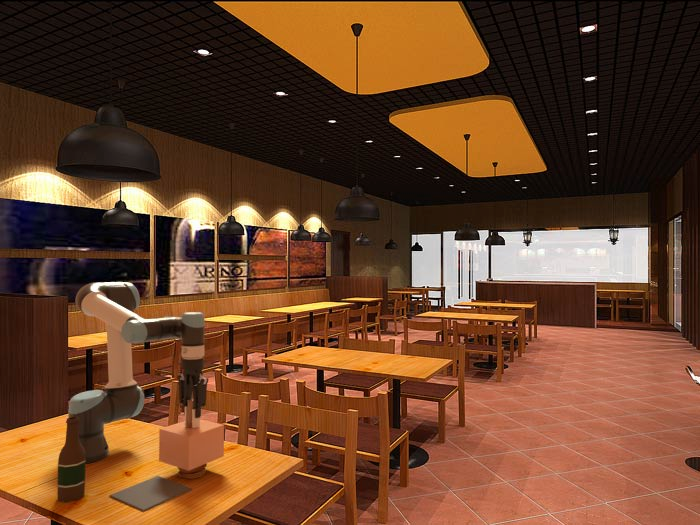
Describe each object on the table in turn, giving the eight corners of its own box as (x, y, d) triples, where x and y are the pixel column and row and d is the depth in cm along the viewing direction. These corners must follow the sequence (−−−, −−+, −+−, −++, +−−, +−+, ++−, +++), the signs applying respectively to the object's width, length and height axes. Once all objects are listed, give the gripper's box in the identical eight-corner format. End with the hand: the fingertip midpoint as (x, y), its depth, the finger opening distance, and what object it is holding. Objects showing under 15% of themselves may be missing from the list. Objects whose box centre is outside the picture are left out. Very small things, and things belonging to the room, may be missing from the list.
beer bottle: (64, 491, 153) (65, 414, 153) (90, 490, 153) (91, 413, 154) (51, 503, 145) (52, 422, 146) (78, 502, 146) (80, 421, 146)
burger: (200, 480, 162) (200, 466, 162) (172, 479, 162) (172, 465, 163) (210, 468, 172) (210, 455, 172) (183, 468, 172) (184, 454, 172)
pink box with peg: (159, 461, 165) (159, 401, 166) (194, 447, 178) (195, 392, 178) (188, 470, 157) (189, 408, 158) (223, 456, 170) (224, 398, 170)
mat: (109, 496, 150) (109, 494, 150) (157, 477, 164) (157, 475, 164) (143, 511, 140) (143, 509, 140) (191, 489, 155) (191, 488, 155)
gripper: (168, 356, 170) (167, 424, 169) (200, 361, 161) (199, 433, 160) (186, 353, 176) (185, 419, 175) (217, 358, 167) (217, 427, 167)
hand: (192, 425), depth 168 cm, fingers closed on pink box with peg, 3 cm apart
